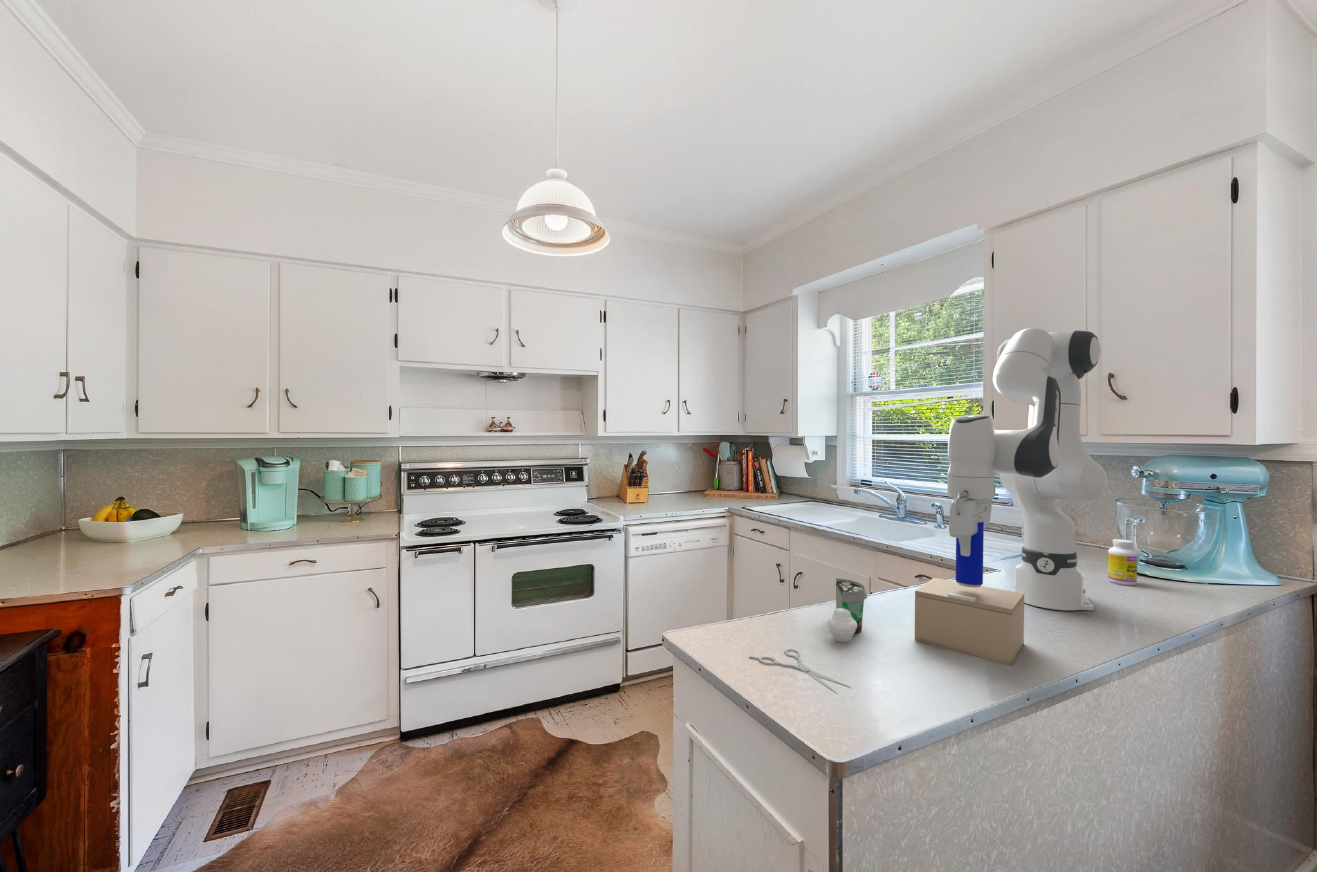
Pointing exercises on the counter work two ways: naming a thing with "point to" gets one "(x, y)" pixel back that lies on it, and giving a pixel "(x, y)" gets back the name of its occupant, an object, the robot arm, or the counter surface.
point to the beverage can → (971, 560)
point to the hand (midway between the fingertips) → (969, 552)
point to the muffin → (842, 625)
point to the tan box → (970, 629)
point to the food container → (851, 599)
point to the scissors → (798, 667)
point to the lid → (971, 595)
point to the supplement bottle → (1122, 563)
